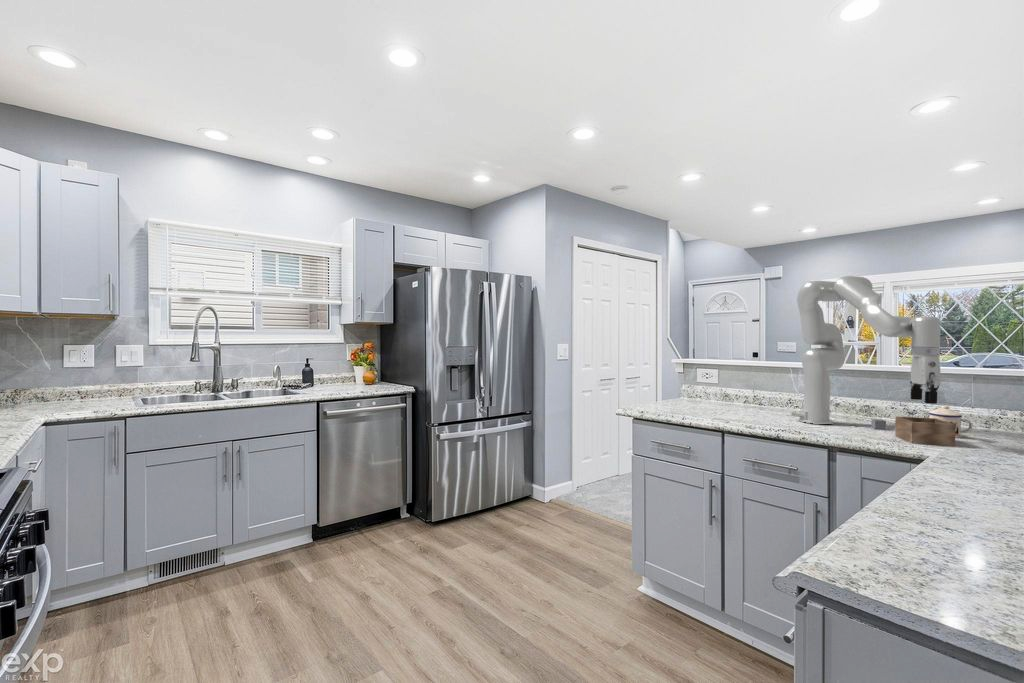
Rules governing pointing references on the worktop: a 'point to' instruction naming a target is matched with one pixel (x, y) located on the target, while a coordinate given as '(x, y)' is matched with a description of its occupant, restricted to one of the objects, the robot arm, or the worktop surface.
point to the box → (925, 431)
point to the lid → (877, 424)
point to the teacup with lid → (950, 419)
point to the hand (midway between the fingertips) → (923, 401)
